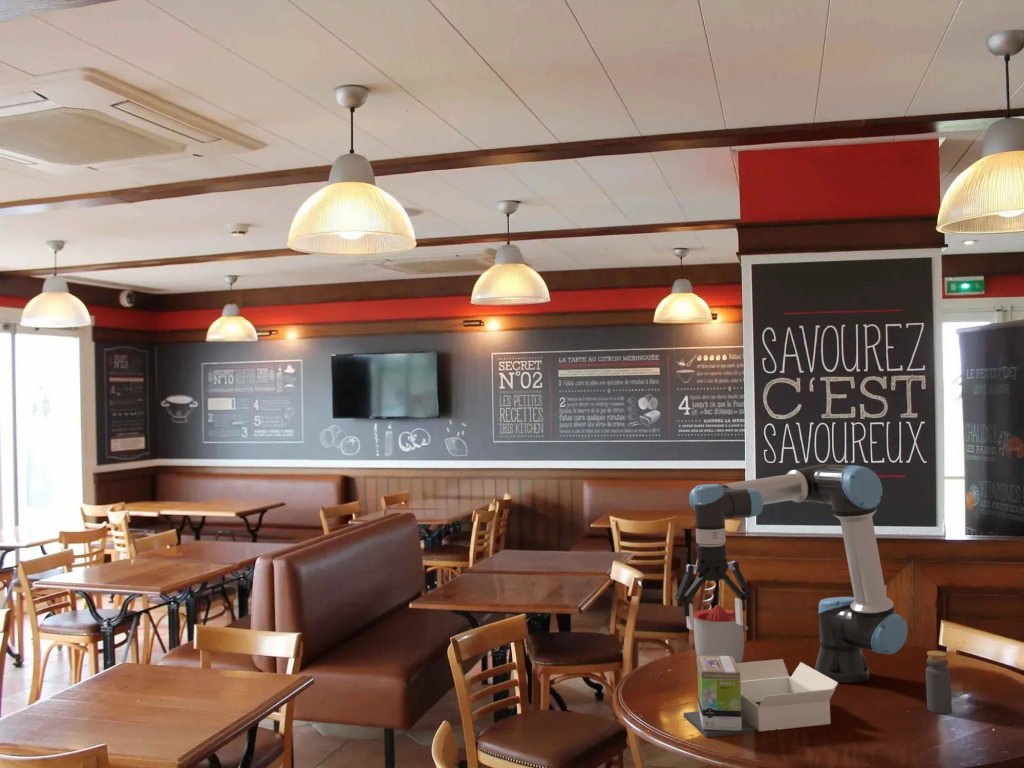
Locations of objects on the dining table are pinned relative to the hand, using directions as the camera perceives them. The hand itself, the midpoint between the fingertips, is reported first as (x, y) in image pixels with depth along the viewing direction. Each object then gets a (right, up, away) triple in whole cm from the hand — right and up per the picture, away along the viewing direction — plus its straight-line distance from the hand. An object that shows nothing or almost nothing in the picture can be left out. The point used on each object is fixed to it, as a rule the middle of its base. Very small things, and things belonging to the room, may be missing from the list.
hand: (715, 626), depth 220 cm
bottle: (+60, -23, +4) cm, 65 cm away
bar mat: (+1, -25, -1) cm, 25 cm away
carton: (+19, -25, +5) cm, 31 cm away
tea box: (+1, -24, -1) cm, 24 cm away
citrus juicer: (+13, -26, +45) cm, 54 cm away
